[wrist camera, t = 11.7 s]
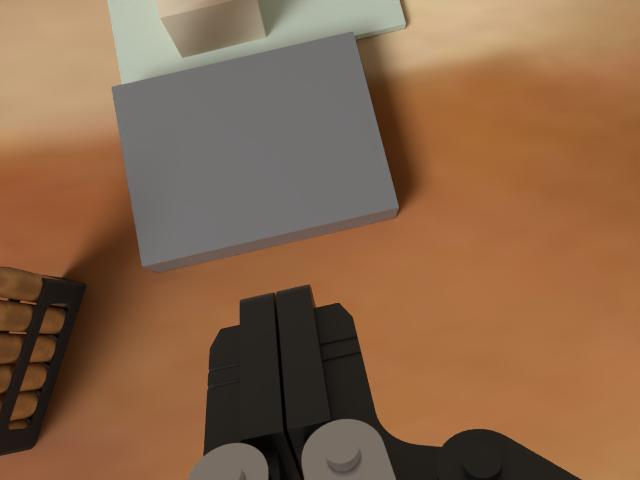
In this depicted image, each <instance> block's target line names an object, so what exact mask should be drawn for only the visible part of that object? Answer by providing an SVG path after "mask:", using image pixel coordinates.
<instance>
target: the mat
mask: <svg viewBox="0 0 640 480" xmlns="http://www.w3.org/2000/svg"><path fill="white" fill-rule="evenodd" d="M107 1H108V7H109V12H110V18H111V24H112V30H113V35H114V41H115V47H116V53H117V58H118V64H119V70H120V76H121V81H122V84H127V83H131V82H135V81H140V80H144V79H148V78H153V77H157V76H161V75H166V74H170V73H174V72H179V71H183V70H187V69H192V68H196V67H200V66H205V65H209V64H213V63H218V62H222V61H226V60H231V59H235V58H239V57H244V56H248V55H252V54H257V53H261V52H265V51H270V50H274V49H278V48H283V47H287V46H291V45H296V44H300V43H305V42H309V41H313V40H318V39H322V38H326V37H331V36H335V35H339V34H344V33H348V32H352V31H353V32H354V36H355V40H357V39H362V38H366V37H370V36H375V35H379V34H383V33H388V32H392V31H396V30H401V29H405V27H406V22H405V18H404V15H403V11H402V8H401V4H400V0H257V1H258V5H259V9H260V13H261V17H262V21H263V25H264V29H265V34H266V38H263V39H259V40H255V41H251V42H246V43H242V44H238V45H234V46H230V47H226V48H222V49H218V50H214V51H210V52H205V53H201V54H197V55H193V56H189V57H185V58H182V57H181V55H180V53H179V51H178V50H177V48H176V46H175V44H174V42H173V41H172V39H171V37H170V35H169V33H168V32H167V30H166V28H165V26H164V24H163V23H162V21H161V19H160V16H159V11H158V6H157V1H156V0H107Z"/></svg>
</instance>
